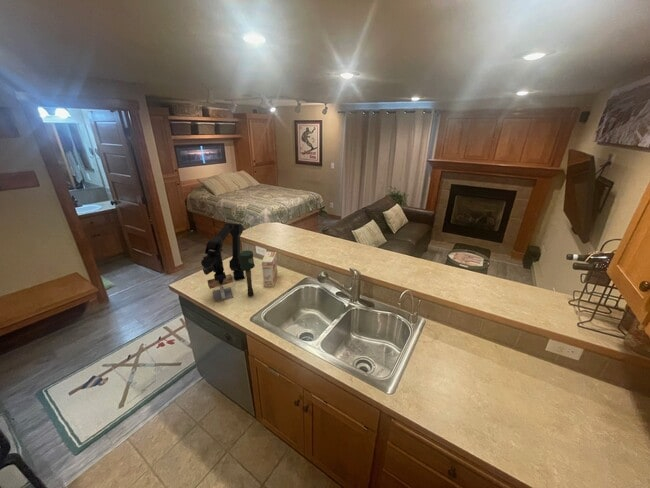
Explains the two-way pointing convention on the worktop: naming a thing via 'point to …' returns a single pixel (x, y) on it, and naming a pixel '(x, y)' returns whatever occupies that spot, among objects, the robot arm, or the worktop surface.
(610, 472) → the worktop surface
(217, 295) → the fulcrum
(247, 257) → the potato masher grenade
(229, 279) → the plank
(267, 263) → the coffeecake box
